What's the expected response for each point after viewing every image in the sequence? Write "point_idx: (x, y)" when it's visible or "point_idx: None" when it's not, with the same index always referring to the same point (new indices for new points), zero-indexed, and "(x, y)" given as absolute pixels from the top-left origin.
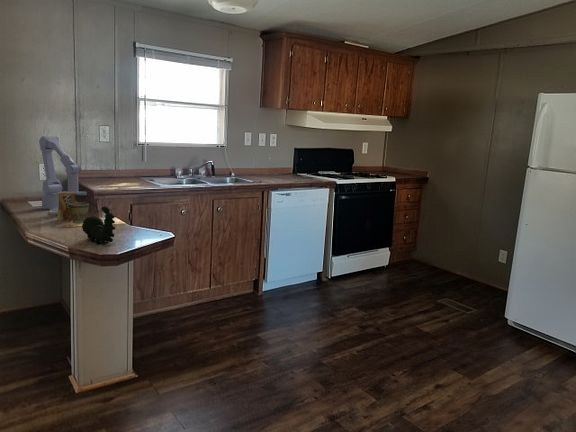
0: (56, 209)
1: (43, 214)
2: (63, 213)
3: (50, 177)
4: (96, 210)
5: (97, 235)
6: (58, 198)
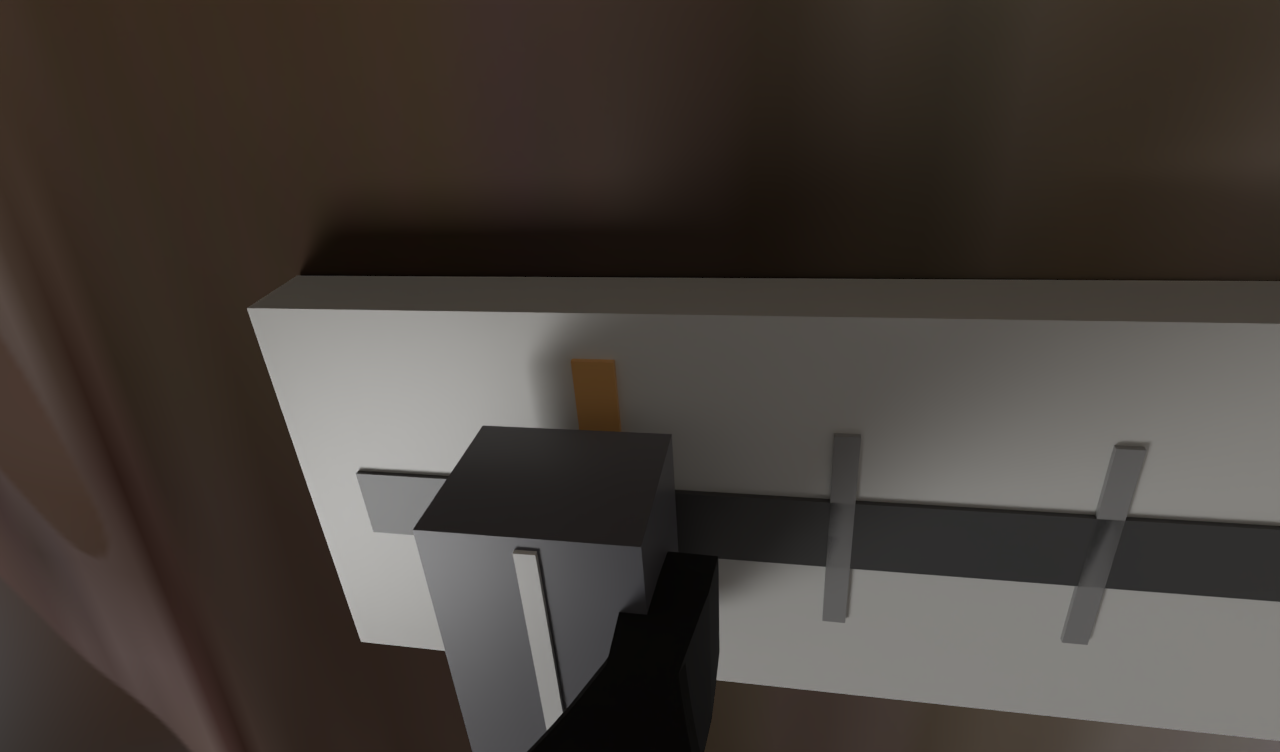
0: (1197, 727)
1: None
2: None
3: None
4: (189, 590)
5: None
6: None
